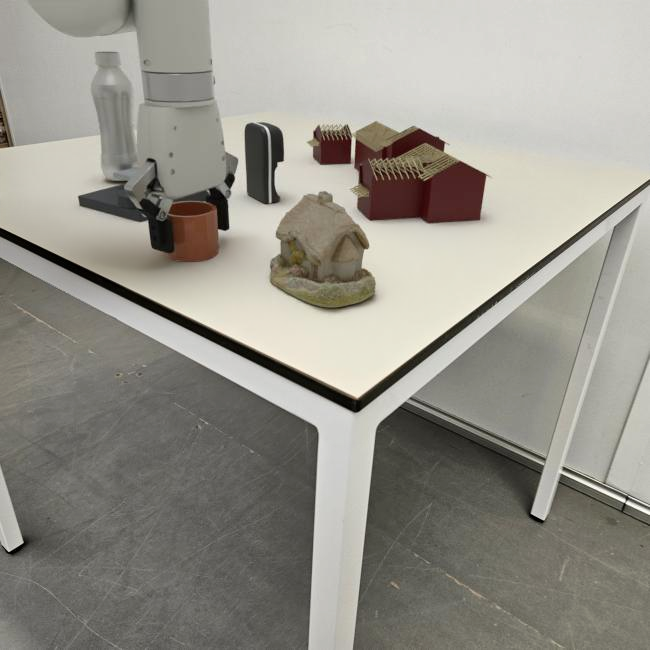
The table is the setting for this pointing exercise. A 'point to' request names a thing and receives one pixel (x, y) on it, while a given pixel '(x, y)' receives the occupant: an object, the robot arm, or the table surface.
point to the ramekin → (194, 231)
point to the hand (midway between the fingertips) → (192, 238)
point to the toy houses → (403, 173)
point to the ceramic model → (321, 254)
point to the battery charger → (263, 160)
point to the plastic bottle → (114, 115)
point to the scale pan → (125, 174)
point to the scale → (123, 202)
